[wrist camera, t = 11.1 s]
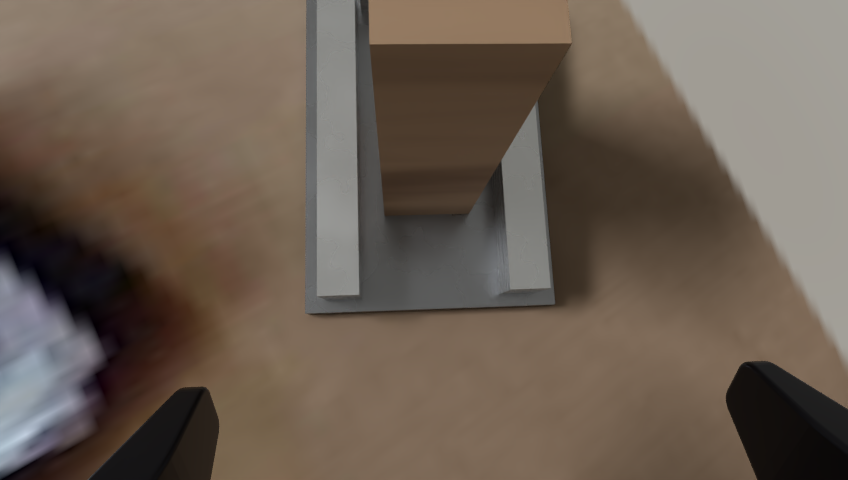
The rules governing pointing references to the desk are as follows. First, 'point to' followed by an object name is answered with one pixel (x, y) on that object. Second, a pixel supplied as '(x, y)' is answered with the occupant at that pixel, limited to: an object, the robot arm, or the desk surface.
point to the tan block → (456, 92)
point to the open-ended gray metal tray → (406, 234)
